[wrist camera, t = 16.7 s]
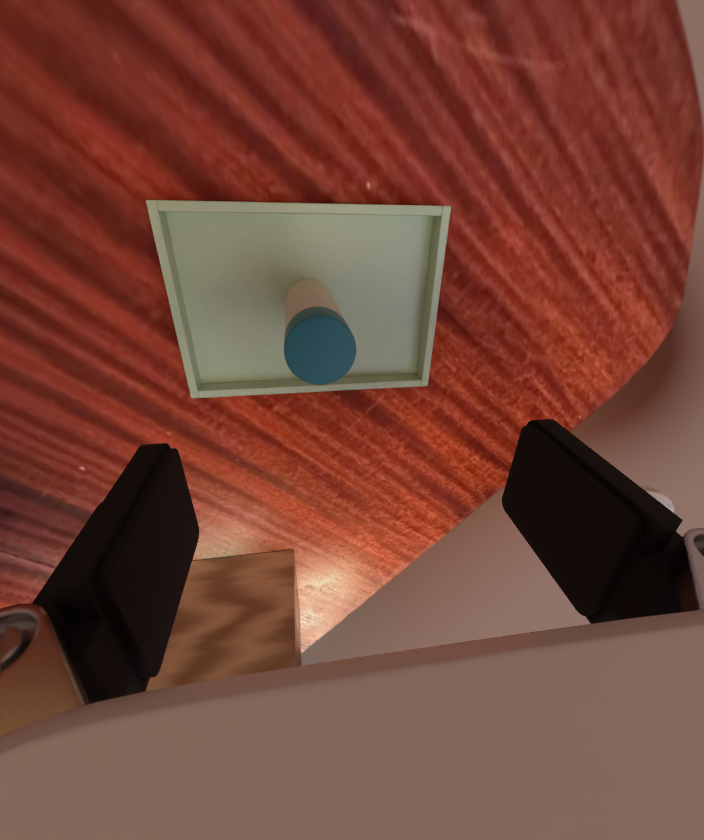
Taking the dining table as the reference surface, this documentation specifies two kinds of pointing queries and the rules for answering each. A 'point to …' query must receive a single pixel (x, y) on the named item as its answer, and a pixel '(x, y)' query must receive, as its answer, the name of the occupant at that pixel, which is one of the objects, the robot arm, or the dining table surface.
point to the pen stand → (234, 620)
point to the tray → (284, 266)
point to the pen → (316, 334)
